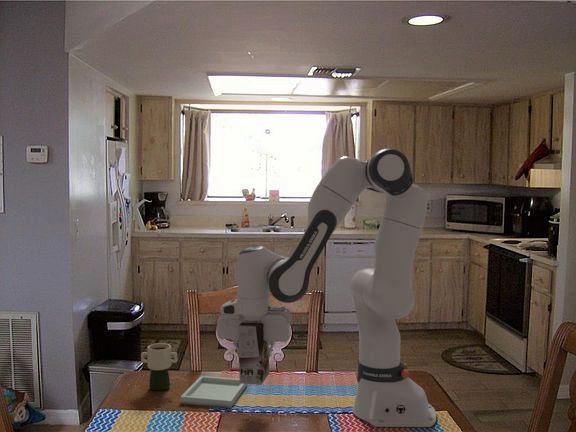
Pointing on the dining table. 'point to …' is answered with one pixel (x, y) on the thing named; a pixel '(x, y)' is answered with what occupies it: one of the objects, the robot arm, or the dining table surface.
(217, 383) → the tray
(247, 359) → the coffee box
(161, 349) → the character mug
